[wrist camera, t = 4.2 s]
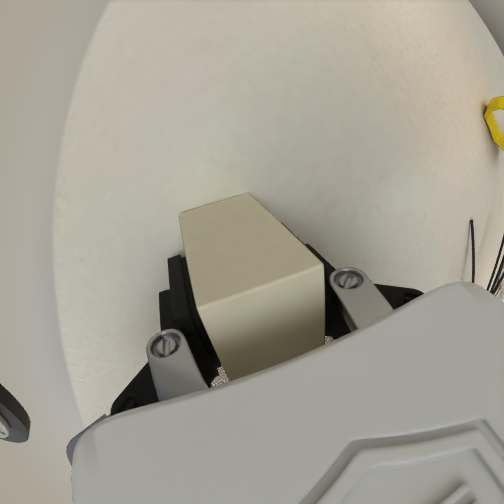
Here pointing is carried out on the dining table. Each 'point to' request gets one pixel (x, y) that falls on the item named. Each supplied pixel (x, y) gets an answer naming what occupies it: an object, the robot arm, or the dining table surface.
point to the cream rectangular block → (252, 285)
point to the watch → (494, 104)
